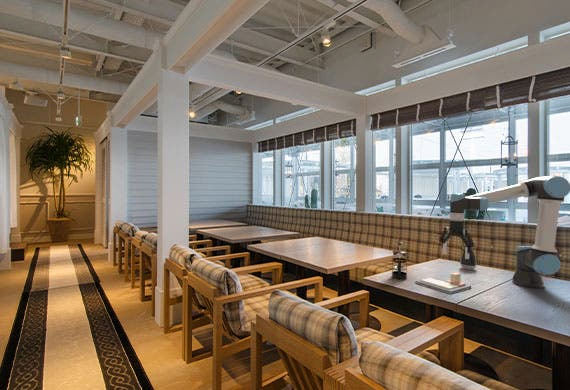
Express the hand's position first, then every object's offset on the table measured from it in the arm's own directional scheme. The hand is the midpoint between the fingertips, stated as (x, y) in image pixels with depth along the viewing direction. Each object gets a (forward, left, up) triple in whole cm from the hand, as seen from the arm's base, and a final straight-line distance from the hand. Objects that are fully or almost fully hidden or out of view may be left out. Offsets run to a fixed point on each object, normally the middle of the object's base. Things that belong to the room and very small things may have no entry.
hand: (455, 256), depth 188 cm
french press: (+28, +14, -18) cm, 36 cm away
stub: (0, 0, -16) cm, 16 cm away
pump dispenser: (+18, -46, -18) cm, 53 cm away
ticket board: (+4, +5, -18) cm, 19 cm away
